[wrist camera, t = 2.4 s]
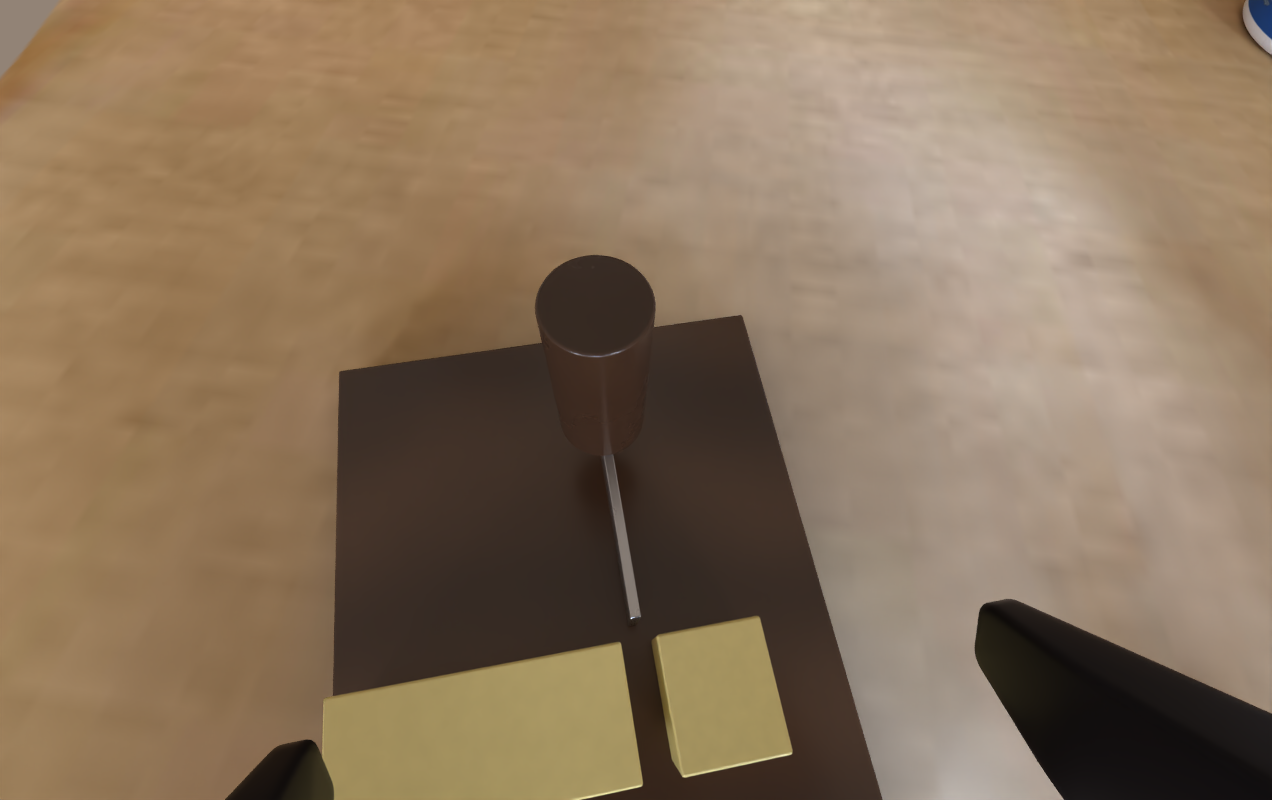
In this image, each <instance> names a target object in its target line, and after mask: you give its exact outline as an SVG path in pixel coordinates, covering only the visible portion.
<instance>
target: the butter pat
mask: <svg viewBox="0 0 1272 800" xmlns="http://www.w3.org/2000/svg"><path fill="white" fill-rule="evenodd" d="M651 643H652V649H653V655H654V660H655V666H656V672H657V677H658V683H659V689H660V695H661V700H662V706H663V712H664V717H665V723H666V729H667V734H668V740H669V746H670V751H671V757H672V761H673V762H674V764H675V766H676V767H677V769H678V770H679V772H680V774H681V775H682V777H685V778H686V777H690V776H695V775H699V774H704V773H709V772H713V771H718V770H723V769H727V768H732V767H737V766H741V765H746V764H751V763H755V762H760V761H764V760H769V759H774V758H778V757H783V756H788V755H791V754H792V751H793V750H792V746H791V742H790V738H789V734H788V730H787V726H786V722H785V718H784V714H783V710H782V705H781V701H780V697H779V693H778V689H777V685H776V681H775V677H774V673H773V669H772V665H771V661H770V657H769V653H768V649H767V645H766V640H765V636H764V632H763V628H762V624H761V620H760V618H759V616H752V617H747V618H742V619H736V620H731V621H726V622H721V623H716V624H710V625H705V626H700V627H695V628H689V629H684V630H679V631H674V632H668V633H663V634H659V635H657V636H656V637H655V638H654V639H653V640H652V642H651Z"/></svg>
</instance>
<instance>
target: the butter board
mask: <svg viewBox="0 0 1272 800" xmlns="http://www.w3.org/2000/svg"><path fill="white" fill-rule="evenodd" d="M613 456H614V461H615V467H616V473H617V479H618V485H619V490H620V496H621V502H622V508H623V514H624V520H625V525H626V531H627V537H628V543H629V549H630V554H631V560H632V566H633V572H634V578H635V583H636V589H637V595H638V601H639V607H640V612H641V617H640V619H639V621H638V624H637V625H633V626H628V621H627V614H626V608H625V602H624V596H623V590H622V584H621V578H620V572H619V565H618V559H617V553H616V547H615V541H614V535H613V529H612V523H611V516H610V510H609V504H608V498H607V492H606V486H605V480H604V474H603V467H602V461H601V456H597V455H591V454H588V453H585V452H583V451H581V450H579V449H577V448H576V447H575V446H573V445H572V444H571V443H570V442H569V441H568V439H567V438H566V437H565V435H564V433H563V430H562V428H561V424H560V419H559V415H558V410H557V406H556V402H555V397H554V393H553V389H552V384H551V380H550V375H549V371H548V367H547V362H546V358H545V354H544V349H543V345H542V343H539V344H532V345H524V346H517V347H510V348H503V349H496V350H489V351H482V352H475V353H467V354H460V355H453V356H446V357H439V358H432V359H425V360H418V361H410V362H403V363H396V364H389V365H382V366H375V367H368V368H361V369H353V370H346V371H341V372H340V373H339V415H338V467H337V519H336V570H335V622H334V674H333V696H337V695H342V694H347V693H352V692H358V691H363V690H368V689H373V688H379V687H384V686H389V685H394V684H400V683H405V682H410V681H415V680H421V679H426V678H431V677H436V676H442V675H447V674H452V673H457V672H463V671H468V670H473V669H478V668H483V667H489V666H494V665H499V664H504V663H510V662H515V661H520V660H525V659H531V658H536V657H541V656H546V655H552V654H557V653H562V652H567V651H573V650H578V649H583V648H588V647H593V646H599V645H604V644H609V643H614V642H620V643H621V646H622V652H623V659H624V665H625V671H626V678H627V684H628V690H629V697H630V703H631V709H632V716H633V722H634V729H635V735H636V741H637V748H638V754H639V760H640V767H641V773H642V780H643V785H642V786H641V787H638V788H633V789H629V790H624V791H619V792H615V793H610V794H605V795H601V796H596V797H591V798H587V799H582V800H882V796H881V793H880V789H879V786H878V782H877V779H876V776H875V772H874V769H873V765H872V762H871V758H870V755H869V751H868V748H867V744H866V741H865V738H864V734H863V731H862V727H861V724H860V720H859V717H858V713H857V710H856V707H855V703H854V700H853V696H852V693H851V689H850V686H849V682H848V679H847V675H846V672H845V669H844V665H843V662H842V658H841V655H840V651H839V648H838V644H837V641H836V637H835V634H834V631H833V627H832V624H831V620H830V617H829V613H828V610H827V606H826V603H825V600H824V596H823V593H822V589H821V586H820V582H819V579H818V575H817V572H816V568H815V565H814V562H813V558H812V555H811V551H810V548H809V544H808V541H807V537H806V534H805V531H804V527H803V524H802V520H801V517H800V513H799V510H798V506H797V503H796V499H795V496H794V493H793V489H792V486H791V482H790V479H789V475H788V472H787V468H786V465H785V461H784V458H783V455H782V451H781V448H780V444H779V441H778V437H777V434H776V430H775V427H774V424H773V420H772V417H771V413H770V410H769V406H768V403H767V399H766V396H765V392H764V389H763V386H762V382H761V379H760V375H759V372H758V368H757V365H756V361H755V358H754V355H753V351H752V348H751V344H750V341H749V337H748V334H747V330H746V327H745V323H744V320H743V317H742V315H738V316H731V317H724V318H717V319H710V320H703V321H695V322H688V323H681V324H674V325H667V326H660V327H654V328H653V338H652V347H651V356H650V366H649V375H648V384H647V393H646V403H645V412H644V421H643V426H642V429H641V431H640V434H639V435H638V437H637V438H636V440H635V441H634V442H633V443H632V444H631V445H630V446H629V447H627V448H626V449H624V450H622V451H620V452H618V453H615V454H613ZM752 616H759V618H760V620H761V624H762V628H763V632H764V636H765V640H766V645H767V649H768V653H769V657H770V661H771V665H772V669H773V673H774V677H775V681H776V685H777V689H778V693H779V697H780V701H781V705H782V710H783V714H784V718H785V722H786V726H787V730H788V734H789V738H790V742H791V746H792V750H793V751H792V754H791V755H788V756H783V757H778V758H774V759H769V760H764V761H760V762H755V763H751V764H746V765H741V766H737V767H732V768H727V769H723V770H718V771H713V772H709V773H704V774H699V775H695V776H690V777H686V778H685V777H682V775H681V774H680V772H679V770H678V769H677V767H676V766H675V764H674V762H673V761H672V757H671V751H670V746H669V740H668V734H667V729H666V723H665V717H664V712H663V706H662V700H661V695H660V689H659V683H658V677H657V672H656V666H655V660H654V655H653V649H652V643H651V642H652V640H653V639H654V638H655V637H656V636H657V635H659V634H663V633H668V632H674V631H679V630H684V629H689V628H695V627H700V626H705V625H710V624H716V623H721V622H726V621H731V620H736V619H742V618H747V617H752Z"/></svg>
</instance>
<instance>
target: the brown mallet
mask: <svg viewBox="0 0 1272 800" xmlns="http://www.w3.org/2000/svg"><path fill="white" fill-rule="evenodd" d="M535 314H536V318H537V323H538V327H539V332H540V336H541V340H542V345H543V349H544V354H545V358H546V362H547V367H548V371H549V375H550V380H551V384H552V389H553V393H554V397H555V402H556V406H557V410H558V415H559V419H560V424H561V428H562V430H563V433H564V435H565V437H566V438H567V439H568V441H569V442H570V443H571V444H572V445H573V446H575V447H576V448H577V449H579V450H581V451H583V452H585V453H588V454H591V455H597V456H601V461H602V467H603V474H604V480H605V486H606V492H607V498H608V504H609V510H610V516H611V523H612V529H613V535H614V541H615V547H616V553H617V559H618V565H619V572H620V578H621V584H622V590H623V596H624V602H625V608H626V614H627V621H628V626H633V625H637V624H638V621H639V619H640V617H641V612H640V607H639V601H638V595H637V589H636V583H635V578H634V572H633V566H632V560H631V554H630V549H629V543H628V537H627V531H626V525H625V520H624V514H623V508H622V502H621V496H620V490H619V485H618V479H617V473H616V467H615V461H614V456H613V454H615V453H618V452H620V451H622V450H624V449H626V448H627V447H629V446H630V445H631V444H632V443H633V442H634V441H635V440H636V438H637V437H638V435H639V434H640V431H641V429H642V426H643V421H644V412H645V403H646V393H647V384H648V375H649V366H650V356H651V347H652V338H653V328H654V319H655V297H654V294H653V291H652V288H651V286H650V284H649V283H648V281H647V280H646V278H645V277H644V276H643V275H642V274H641V273H640V272H639V271H638V270H637V269H636V268H634V267H633V266H631V265H630V264H628V263H626V262H624V261H622V260H619V259H617V258H613V257H609V256H602V255H590V256H583V257H578V258H575V259H572V260H569V261H567V262H565V263H563V264H561V265H560V266H558V267H557V268H556V269H554V270H553V271H552V272H551V273H550V274H549V275H548V276H547V277H546V279H545V280H544V281H543V283H542V285H541V286H540V288H539V291H538V293H537V297H536V302H535Z"/></svg>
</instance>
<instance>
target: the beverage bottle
mask: <svg viewBox="0 0 1272 800" xmlns="http://www.w3.org/2000/svg"><path fill="white" fill-rule="evenodd" d="M1243 20H1244V23H1245V26H1246V28H1247V30H1248V32H1249V33H1250V35H1251V36H1252V37H1253V39H1254V40H1255V41H1256V42H1257V43H1258V44H1259V45H1260V46H1261V47H1262V48H1263V49H1264V50H1266V51H1267V52H1268V53H1270V54H1271V55H1272V0H1246V1H1245V3H1244V7H1243Z"/></svg>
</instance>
